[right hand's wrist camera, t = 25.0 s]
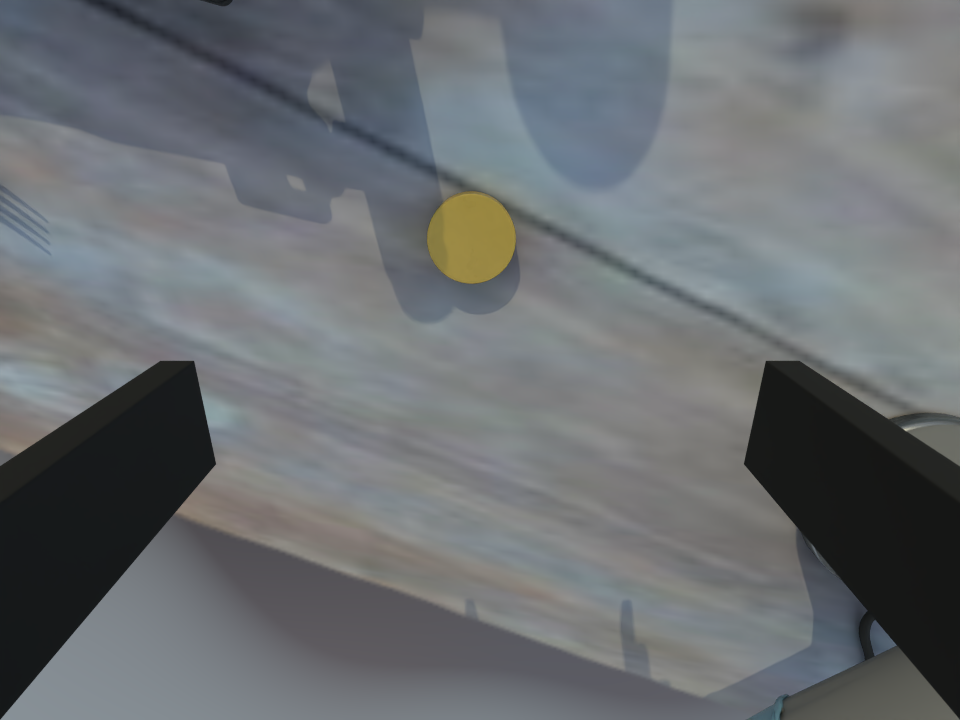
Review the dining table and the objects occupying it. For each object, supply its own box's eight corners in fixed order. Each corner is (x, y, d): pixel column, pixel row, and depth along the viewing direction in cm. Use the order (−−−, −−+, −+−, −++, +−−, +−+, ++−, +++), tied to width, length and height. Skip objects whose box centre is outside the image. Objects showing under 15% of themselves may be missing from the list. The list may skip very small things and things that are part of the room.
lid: (445, 178, 33) (443, 180, 31) (526, 209, 33) (529, 213, 32) (418, 260, 35) (415, 266, 33) (495, 288, 35) (497, 295, 34)
